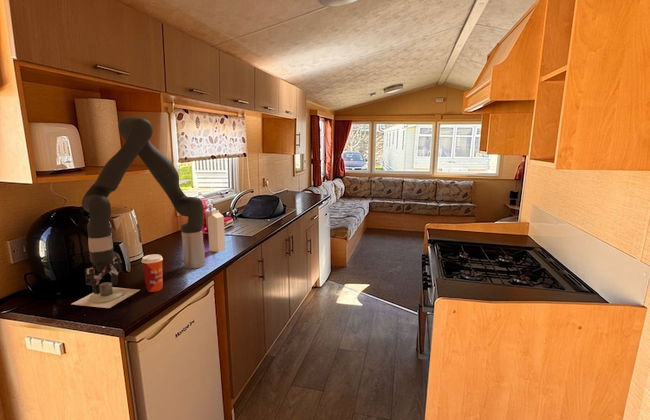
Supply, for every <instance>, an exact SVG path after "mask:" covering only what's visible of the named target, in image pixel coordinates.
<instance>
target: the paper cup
mask: <svg viewBox="0 0 650 420" xmlns="http://www.w3.org/2000/svg"><path fill="white" fill-rule="evenodd" d="M163 260H164V258H163V256H162V255H161V254H157V253H156V254H148V255H144V256H143V257H142V259H141V260H140V261H141V263H142V269H143V275H144V279H145V280H144V281H145V286H146V291H147V292H149V293H152V292H153V293H154V292H155V293H156V292H159V291H162V289H163V285H164V284H163V283H164V282H163V280H164V279H163Z"/></svg>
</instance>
